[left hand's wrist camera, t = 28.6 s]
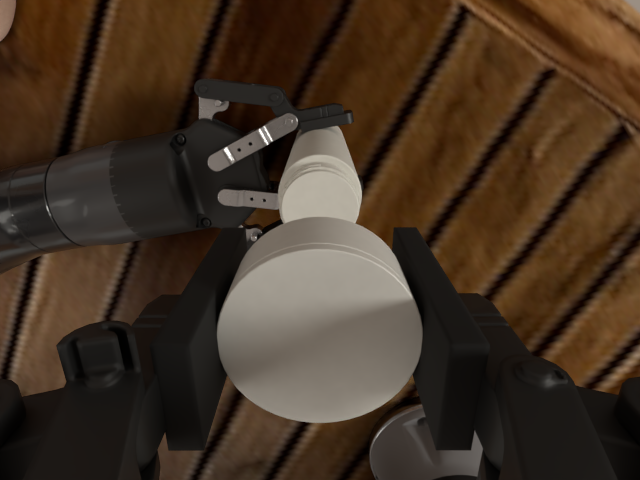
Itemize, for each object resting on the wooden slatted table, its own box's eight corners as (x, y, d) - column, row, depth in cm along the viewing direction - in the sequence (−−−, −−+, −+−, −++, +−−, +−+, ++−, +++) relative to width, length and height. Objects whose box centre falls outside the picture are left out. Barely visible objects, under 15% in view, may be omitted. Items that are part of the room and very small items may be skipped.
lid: (352, 388, 13) (359, 447, 11) (208, 327, 13) (185, 380, 10) (438, 263, 12) (465, 306, 10) (279, 184, 11) (269, 211, 9)
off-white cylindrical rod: (292, 121, 35) (266, 169, 18) (341, 115, 35) (362, 158, 18) (299, 170, 37) (281, 256, 20) (346, 164, 37) (369, 246, 20)
